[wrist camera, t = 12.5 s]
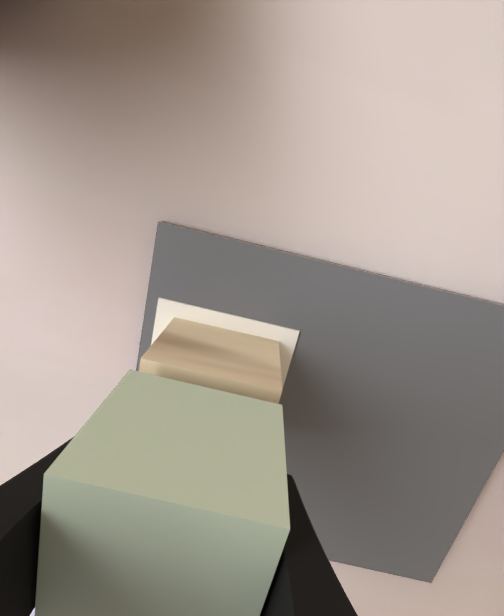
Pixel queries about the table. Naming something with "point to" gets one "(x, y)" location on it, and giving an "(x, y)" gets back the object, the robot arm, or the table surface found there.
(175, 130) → the table surface
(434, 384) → the baseplate
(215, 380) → the maple block
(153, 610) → the sage block
